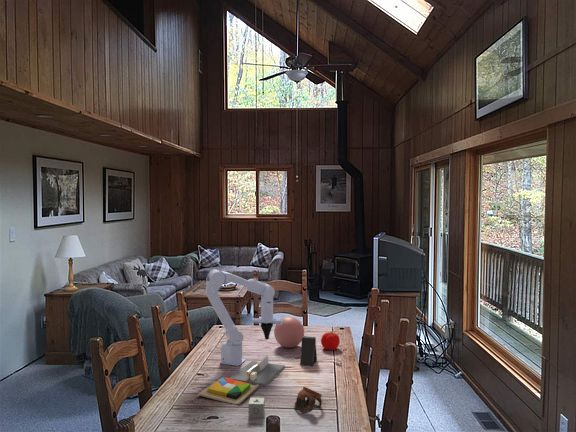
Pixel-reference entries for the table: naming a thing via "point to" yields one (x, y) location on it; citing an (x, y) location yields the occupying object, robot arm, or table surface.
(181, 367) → the table surface
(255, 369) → the hinge leaf
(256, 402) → the dice cube
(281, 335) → the balloon
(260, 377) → the hinge base
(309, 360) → the phone stand
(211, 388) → the wooden puzzle
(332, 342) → the tomato
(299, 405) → the pottery mug
